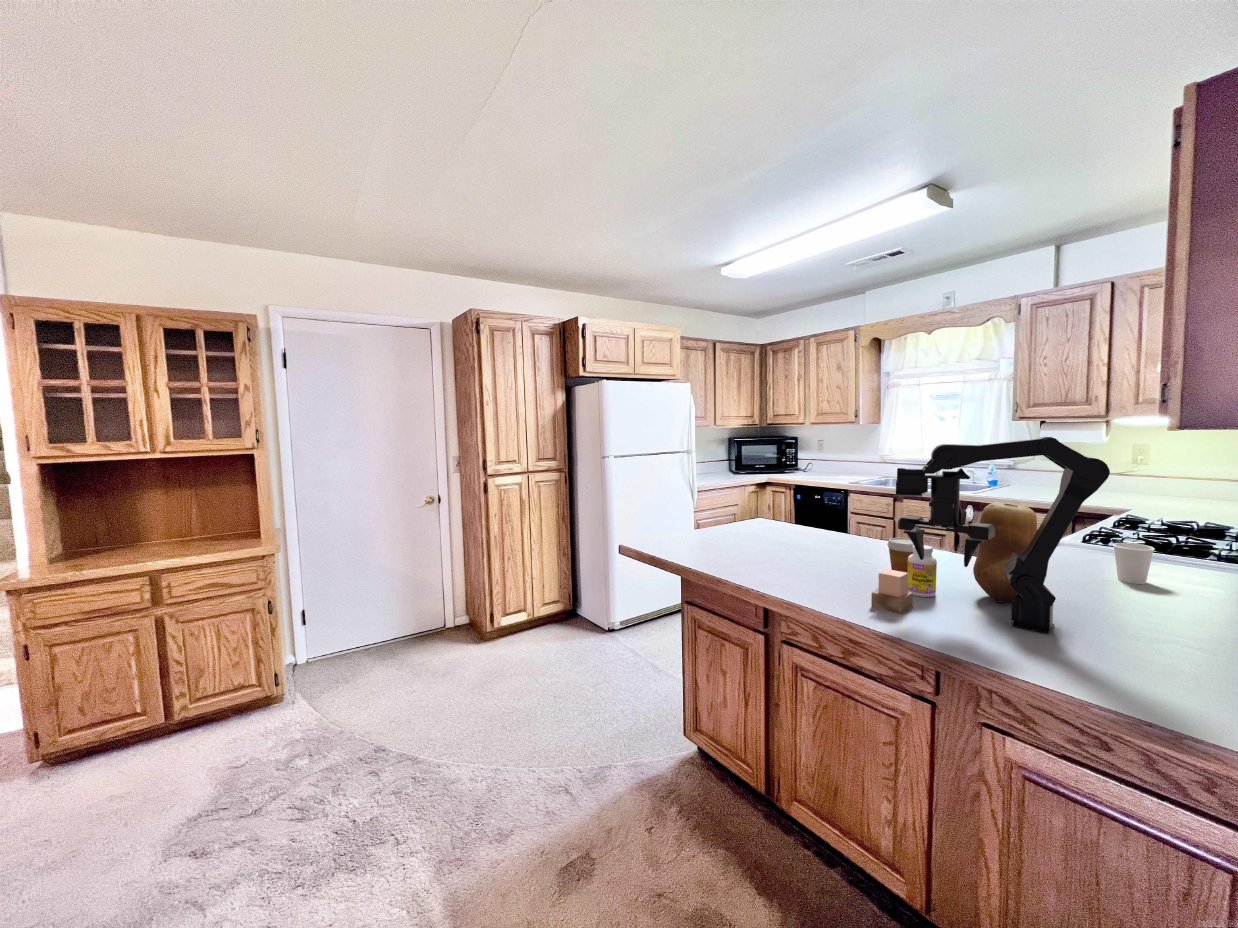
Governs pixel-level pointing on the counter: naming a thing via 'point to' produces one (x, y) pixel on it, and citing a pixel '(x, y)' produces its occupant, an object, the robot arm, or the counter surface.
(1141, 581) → the dixie cup
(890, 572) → the cube
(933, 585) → the supplement bottle
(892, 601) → the brown box
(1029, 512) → the butternut squash
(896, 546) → the disposable coffee cup
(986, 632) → the counter surface
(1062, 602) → the counter surface
